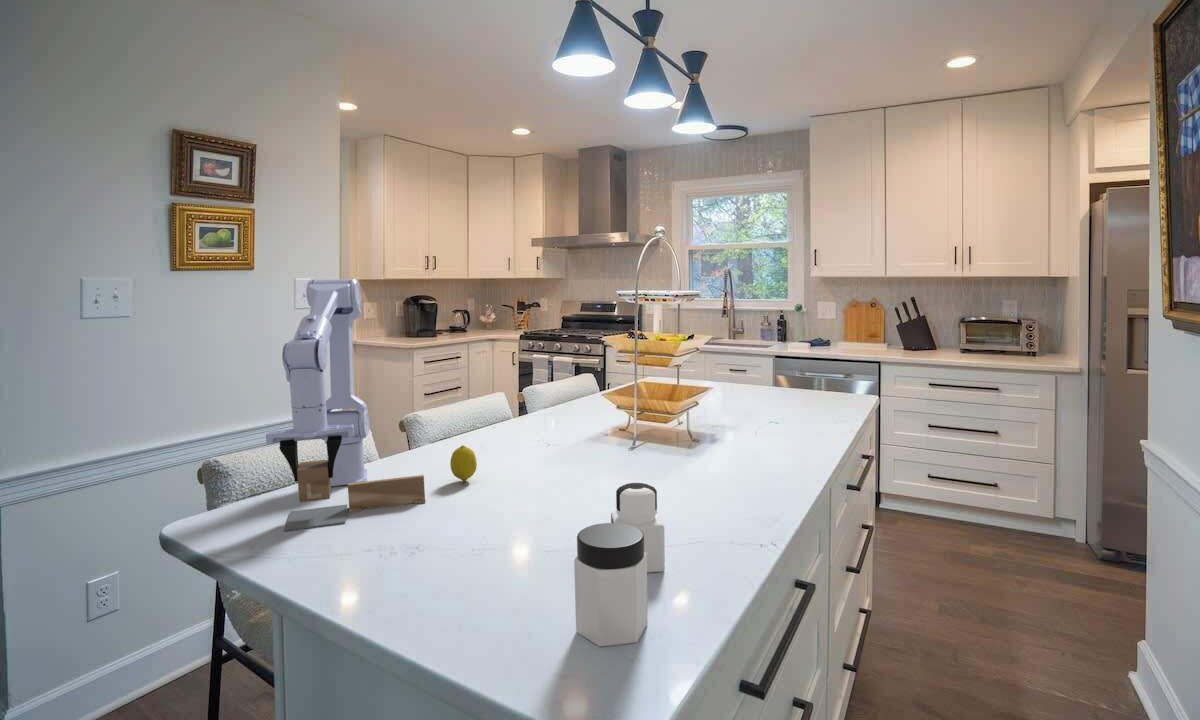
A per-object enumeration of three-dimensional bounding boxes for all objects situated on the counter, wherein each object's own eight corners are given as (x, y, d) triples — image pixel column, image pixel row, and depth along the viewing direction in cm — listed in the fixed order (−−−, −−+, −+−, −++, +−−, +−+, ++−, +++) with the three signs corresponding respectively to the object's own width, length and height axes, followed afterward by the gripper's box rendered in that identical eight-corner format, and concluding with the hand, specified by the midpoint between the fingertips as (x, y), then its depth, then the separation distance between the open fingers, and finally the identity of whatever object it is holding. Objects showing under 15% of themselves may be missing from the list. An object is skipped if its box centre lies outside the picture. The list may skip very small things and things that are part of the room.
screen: (349, 507, 126) (348, 482, 125) (424, 497, 130) (423, 473, 130) (349, 512, 123) (347, 486, 122) (425, 502, 127) (424, 477, 127)
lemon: (471, 486, 137) (469, 449, 136) (447, 484, 138) (445, 448, 138) (481, 478, 143) (479, 442, 142) (457, 477, 144) (456, 442, 143)
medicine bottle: (611, 555, 101) (610, 480, 100) (656, 552, 102) (656, 478, 100) (616, 575, 94) (615, 495, 93) (665, 572, 95) (664, 493, 93)
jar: (639, 608, 85) (638, 519, 83) (656, 641, 77) (655, 544, 75) (571, 615, 83) (569, 525, 82) (581, 650, 75) (578, 551, 74)
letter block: (302, 493, 121) (299, 462, 120) (331, 490, 123) (328, 459, 122) (299, 503, 116) (296, 470, 116) (329, 499, 118) (327, 467, 117)
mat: (290, 512, 123) (290, 511, 123) (347, 505, 126) (347, 504, 126) (284, 531, 114) (283, 529, 114) (345, 523, 117) (345, 521, 117)
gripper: (260, 412, 111) (267, 489, 113) (350, 405, 116) (355, 479, 118) (267, 405, 118) (272, 478, 120) (352, 399, 123) (356, 469, 124)
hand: (314, 478), depth 119 cm, fingers closed on letter block, 5 cm apart
